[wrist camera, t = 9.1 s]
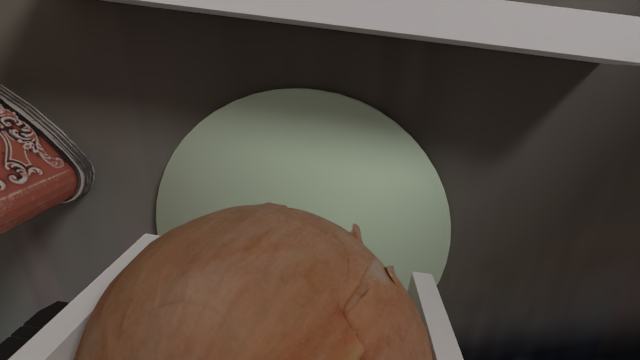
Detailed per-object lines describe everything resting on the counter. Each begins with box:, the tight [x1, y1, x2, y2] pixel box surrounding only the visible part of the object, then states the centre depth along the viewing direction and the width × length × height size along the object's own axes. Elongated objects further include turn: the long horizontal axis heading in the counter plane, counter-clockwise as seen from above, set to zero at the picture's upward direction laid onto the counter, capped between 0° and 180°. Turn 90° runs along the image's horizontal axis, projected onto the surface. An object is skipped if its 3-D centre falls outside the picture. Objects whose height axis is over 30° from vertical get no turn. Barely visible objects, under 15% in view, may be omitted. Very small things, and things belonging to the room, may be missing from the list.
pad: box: [156, 88, 451, 291], centre depth 18 cm, size 14×14×1 cm
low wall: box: [101, 0, 640, 66], centre depth 13 cm, size 22×1×4 cm, turn 83°
